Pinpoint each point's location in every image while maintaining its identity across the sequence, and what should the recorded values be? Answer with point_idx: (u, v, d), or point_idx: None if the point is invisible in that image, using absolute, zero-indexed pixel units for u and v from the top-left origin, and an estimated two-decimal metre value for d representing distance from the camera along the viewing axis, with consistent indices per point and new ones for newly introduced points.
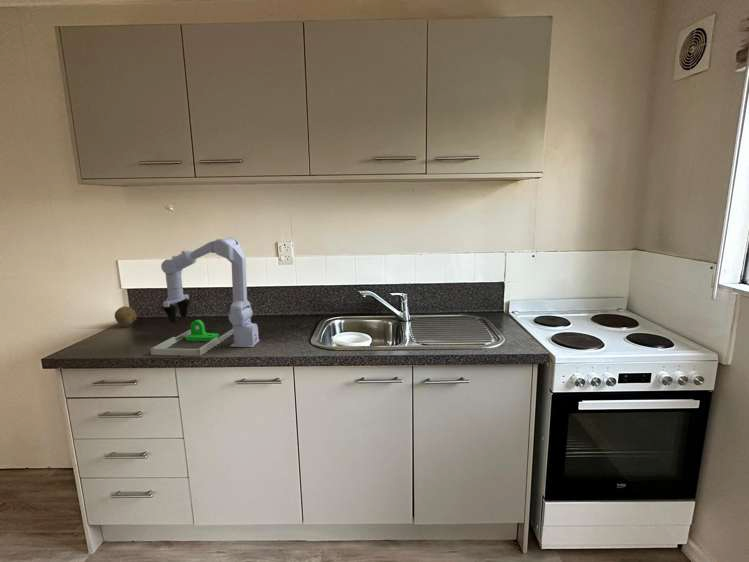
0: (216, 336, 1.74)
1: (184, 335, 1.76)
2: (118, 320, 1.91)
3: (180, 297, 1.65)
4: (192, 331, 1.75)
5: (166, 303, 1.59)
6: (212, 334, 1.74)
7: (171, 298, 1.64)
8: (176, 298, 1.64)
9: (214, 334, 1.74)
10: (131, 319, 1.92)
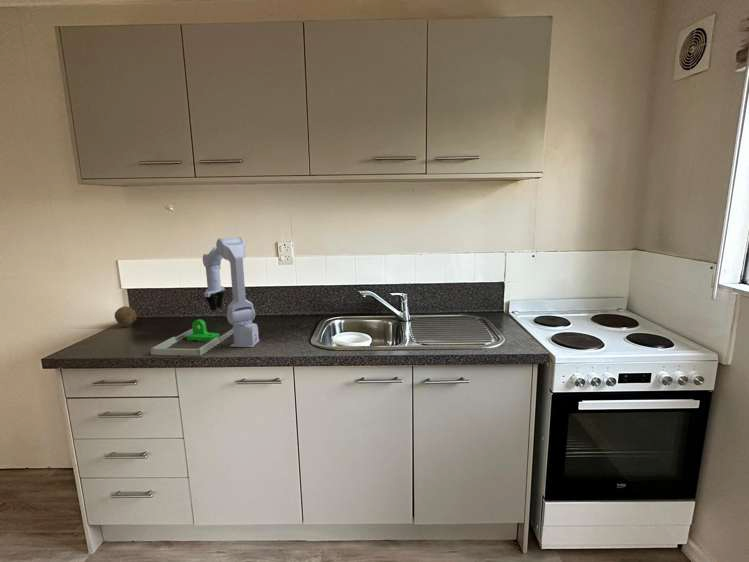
0: (216, 336, 1.74)
1: (184, 335, 1.76)
2: (118, 320, 1.91)
3: (218, 288, 1.82)
4: (194, 330, 1.76)
5: (207, 293, 1.77)
6: (213, 334, 1.74)
7: (210, 289, 1.81)
8: (215, 289, 1.81)
9: (215, 334, 1.74)
10: (131, 319, 1.92)
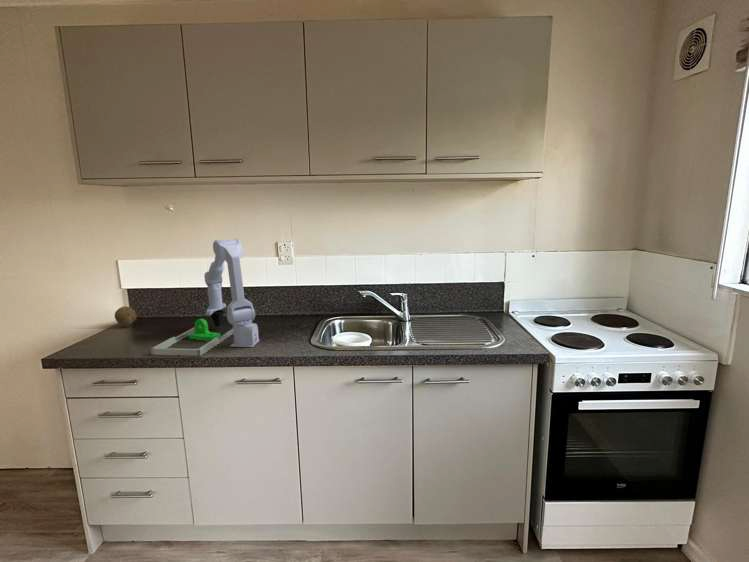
0: (217, 336, 1.74)
1: (184, 335, 1.76)
2: (118, 320, 1.91)
3: (220, 306, 1.84)
4: (196, 329, 1.77)
5: (209, 312, 1.78)
6: (214, 333, 1.75)
7: (212, 307, 1.82)
8: (217, 307, 1.83)
9: (215, 334, 1.75)
10: (131, 319, 1.92)
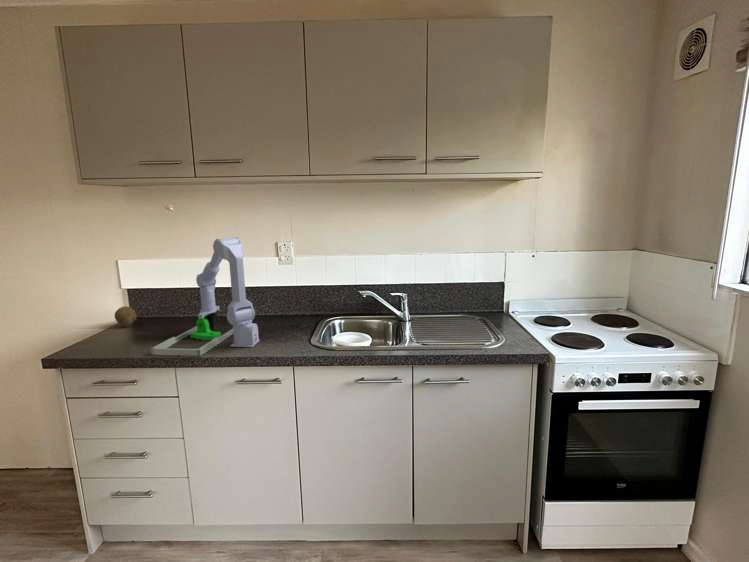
0: (217, 335, 1.74)
1: (184, 335, 1.76)
2: (118, 320, 1.91)
3: (213, 309, 1.78)
4: (198, 328, 1.78)
5: (201, 315, 1.72)
6: (214, 332, 1.75)
7: (205, 310, 1.76)
8: (209, 310, 1.77)
9: (216, 333, 1.75)
10: (131, 319, 1.92)
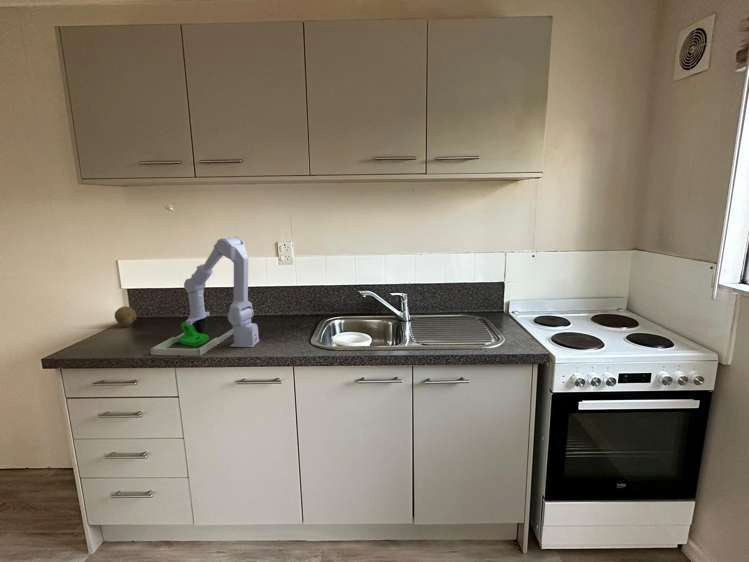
0: (204, 338, 1.66)
1: None
2: (118, 320, 1.91)
3: (202, 315, 1.69)
4: (184, 331, 1.70)
5: (189, 321, 1.63)
6: (201, 336, 1.67)
7: (193, 316, 1.67)
8: (198, 316, 1.68)
9: (203, 336, 1.66)
10: (131, 319, 1.92)
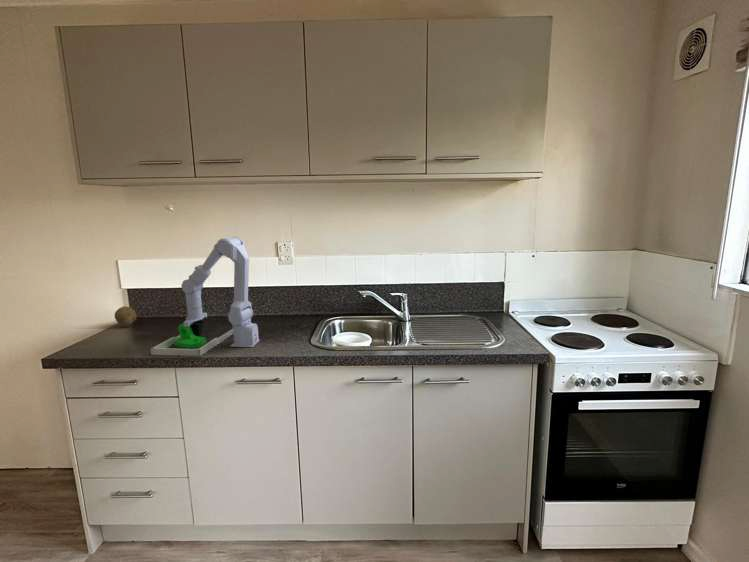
0: (202, 341, 1.64)
1: None
2: (118, 320, 1.91)
3: (200, 316, 1.67)
4: (181, 334, 1.68)
5: (186, 323, 1.61)
6: (198, 338, 1.65)
7: (191, 317, 1.66)
8: (196, 317, 1.66)
9: (200, 339, 1.65)
10: (131, 319, 1.92)
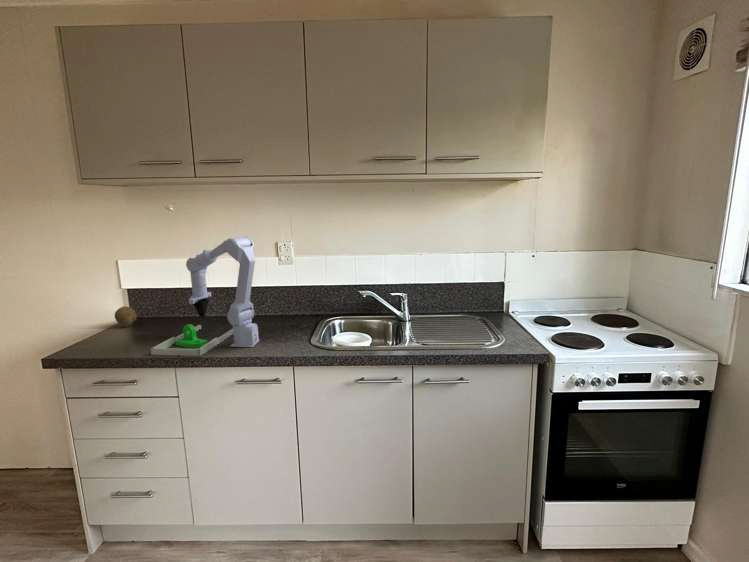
0: (203, 343, 1.65)
1: None
2: (118, 320, 1.91)
3: (204, 294, 1.70)
4: (184, 335, 1.69)
5: (191, 300, 1.64)
6: (200, 341, 1.66)
7: (196, 295, 1.69)
8: (200, 295, 1.69)
9: (202, 341, 1.65)
10: (131, 319, 1.92)
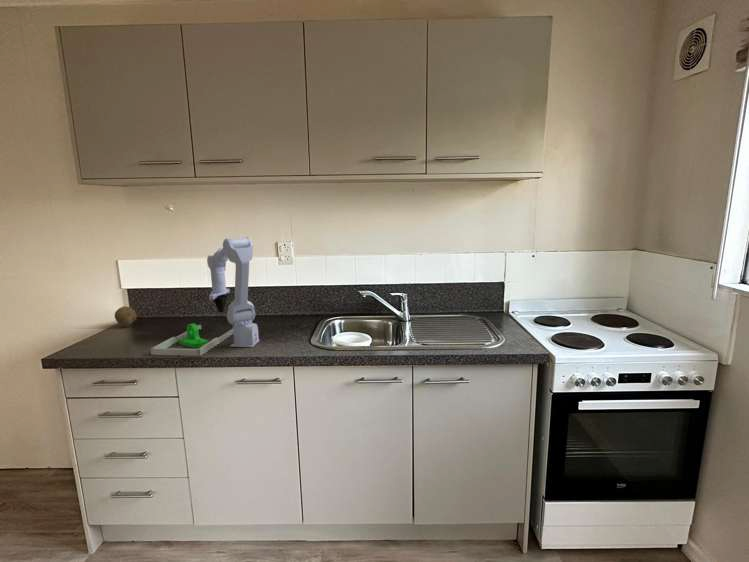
0: (204, 343, 1.65)
1: (184, 335, 1.76)
2: (118, 320, 1.91)
3: (223, 291, 1.77)
4: (188, 334, 1.71)
5: (212, 296, 1.71)
6: (202, 340, 1.66)
7: (215, 291, 1.75)
8: (220, 291, 1.76)
9: (203, 341, 1.66)
10: (131, 319, 1.92)
